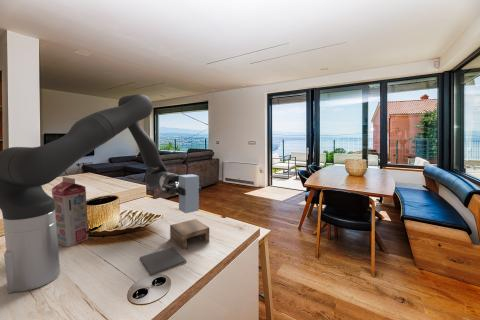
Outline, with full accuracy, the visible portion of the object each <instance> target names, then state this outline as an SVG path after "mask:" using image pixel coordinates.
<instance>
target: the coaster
mask: <svg viewBox="0 0 480 320" xmlns="http://www.w3.org/2000/svg"><path fill="white" fill-rule="evenodd" d="M139 259H140V261H141V263H142V264H143V265H144V267H145V270H147V272H148V273H149V274H150V276H154V275H157V274H158V273H162V272H164V271H166V270H169V269H172V268H175V267H177V266H180V265H182V264H185V263H187V259H186V258H185V257H184V256H183V255H182V254H181V253H180V252H179V251H177V249H176V248H175V247H173V246H170V247H168V248H164V249H161V250H157V251H155V252H152V253H149V254H145V255H142V256H140V257H139Z"/></svg>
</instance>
